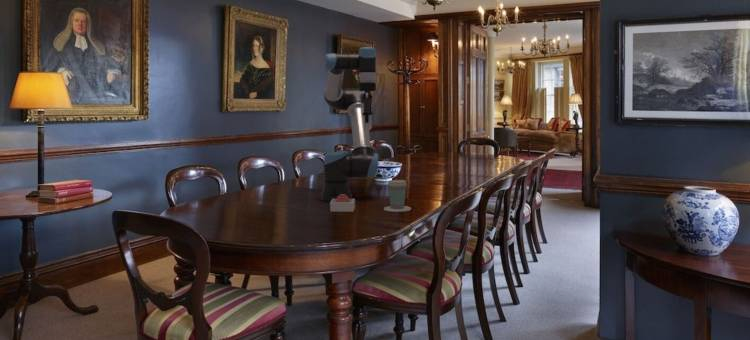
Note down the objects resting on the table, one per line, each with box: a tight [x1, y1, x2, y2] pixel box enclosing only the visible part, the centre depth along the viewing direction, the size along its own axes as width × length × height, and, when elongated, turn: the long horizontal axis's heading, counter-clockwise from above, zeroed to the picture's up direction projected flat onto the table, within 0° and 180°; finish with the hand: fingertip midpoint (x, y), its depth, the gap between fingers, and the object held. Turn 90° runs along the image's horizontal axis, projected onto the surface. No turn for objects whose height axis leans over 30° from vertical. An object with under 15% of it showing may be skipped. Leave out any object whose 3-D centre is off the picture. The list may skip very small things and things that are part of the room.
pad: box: [383, 205, 412, 213], centre depth 251 cm, size 12×12×1 cm
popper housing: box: [329, 198, 356, 213], centre depth 251 cm, size 10×10×4 cm
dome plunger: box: [334, 194, 352, 202], centre depth 251 cm, size 8×8×5 cm
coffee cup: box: [387, 179, 408, 209], centre depth 251 cm, size 9×8×12 cm
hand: (367, 129), depth 258 cm, fingers open, 13 cm apart
